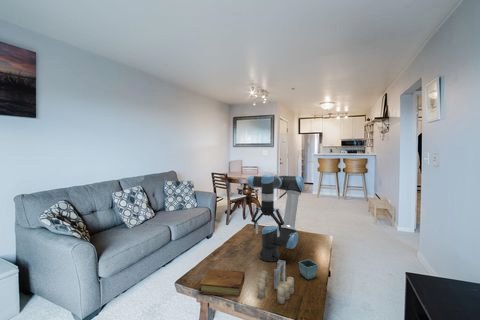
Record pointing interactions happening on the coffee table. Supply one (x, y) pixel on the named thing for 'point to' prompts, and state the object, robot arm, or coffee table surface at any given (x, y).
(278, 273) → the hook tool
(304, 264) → the flower pot
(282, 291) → the posts
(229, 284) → the diary
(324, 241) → the coffee table surface
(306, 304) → the coffee table surface
